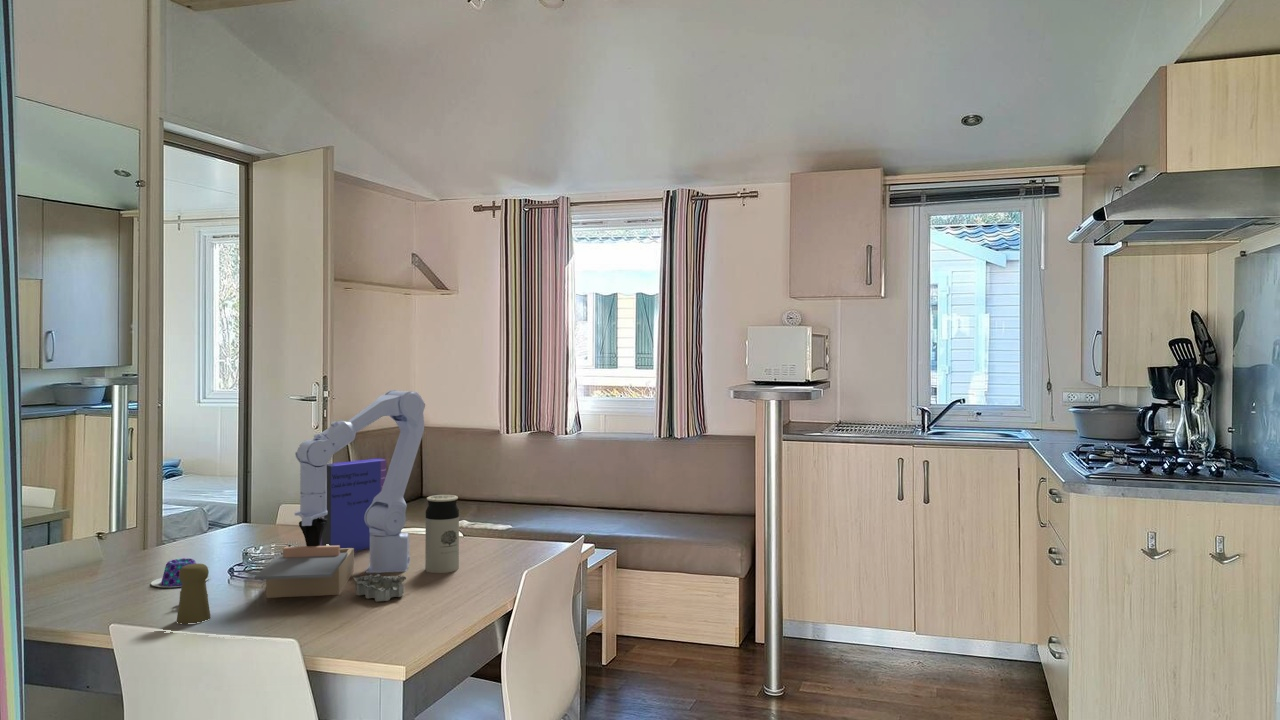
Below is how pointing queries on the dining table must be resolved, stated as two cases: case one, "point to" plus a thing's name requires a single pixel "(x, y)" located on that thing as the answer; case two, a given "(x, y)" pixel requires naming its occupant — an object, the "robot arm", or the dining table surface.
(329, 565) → the lid
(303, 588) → the mailer box
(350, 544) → the blue book
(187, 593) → the cork
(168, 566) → the purple spotted hat
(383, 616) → the dining table surface
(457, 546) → the travel mug
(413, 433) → the robot arm
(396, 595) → the egg carton
